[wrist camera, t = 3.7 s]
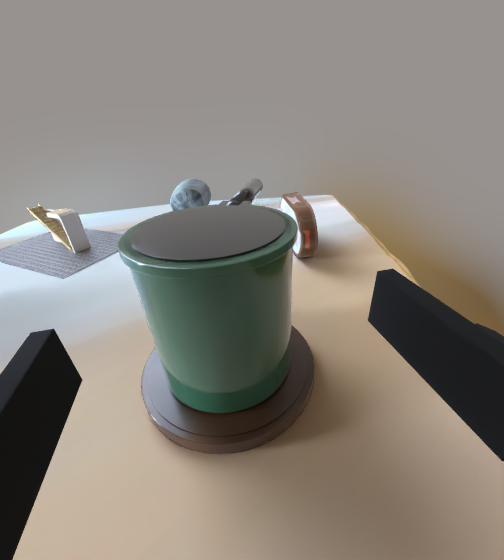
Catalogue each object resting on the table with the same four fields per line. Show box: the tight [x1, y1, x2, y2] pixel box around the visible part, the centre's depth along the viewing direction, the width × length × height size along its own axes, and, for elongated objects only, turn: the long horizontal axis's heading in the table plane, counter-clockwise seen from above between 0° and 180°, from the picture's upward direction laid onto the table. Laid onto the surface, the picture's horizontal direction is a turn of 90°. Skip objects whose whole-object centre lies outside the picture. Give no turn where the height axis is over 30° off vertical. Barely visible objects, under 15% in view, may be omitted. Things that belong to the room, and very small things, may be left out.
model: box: [27, 204, 91, 254], centre depth 52 cm, size 3×11×8 cm, turn 65°
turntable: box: [141, 325, 314, 454], centre depth 25 cm, size 15×15×1 cm
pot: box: [118, 179, 298, 413], centre depth 25 cm, size 22×12×12 cm, turn 168°
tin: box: [281, 192, 318, 258], centre depth 45 cm, size 15×3×8 cm, turn 6°
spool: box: [170, 179, 211, 211], centre depth 65 cm, size 14×10×10 cm
